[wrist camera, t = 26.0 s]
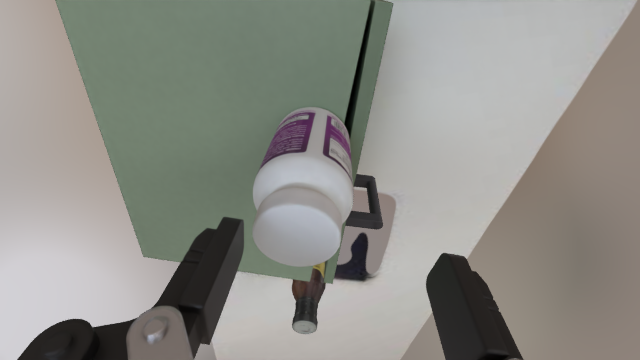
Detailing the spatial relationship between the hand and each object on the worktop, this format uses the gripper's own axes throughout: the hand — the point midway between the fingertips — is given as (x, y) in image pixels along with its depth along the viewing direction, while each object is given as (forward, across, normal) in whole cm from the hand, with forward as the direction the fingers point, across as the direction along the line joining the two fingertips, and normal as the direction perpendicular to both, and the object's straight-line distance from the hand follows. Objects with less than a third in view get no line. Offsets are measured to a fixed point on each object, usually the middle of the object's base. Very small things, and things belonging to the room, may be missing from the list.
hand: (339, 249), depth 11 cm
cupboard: (+34, +9, +5) cm, 36 cm away
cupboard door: (+34, -4, +5) cm, 35 cm away
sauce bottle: (+34, -1, +37) cm, 50 cm away
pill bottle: (+11, +2, +1) cm, 11 cm away
